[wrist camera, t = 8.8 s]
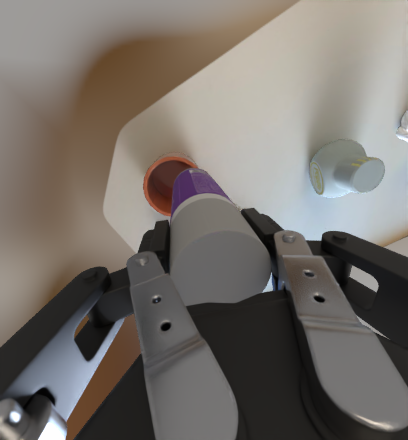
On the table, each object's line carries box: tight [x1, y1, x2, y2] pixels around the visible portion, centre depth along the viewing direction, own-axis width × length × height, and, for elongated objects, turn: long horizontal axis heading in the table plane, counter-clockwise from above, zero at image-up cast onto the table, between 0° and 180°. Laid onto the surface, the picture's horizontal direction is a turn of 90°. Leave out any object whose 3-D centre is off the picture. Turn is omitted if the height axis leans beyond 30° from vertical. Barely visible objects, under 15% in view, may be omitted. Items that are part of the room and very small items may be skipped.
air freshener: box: [309, 139, 385, 198], centre depth 36 cm, size 11×8×10 cm
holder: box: [143, 152, 199, 216], centre depth 34 cm, size 9×9×9 cm
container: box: [169, 168, 272, 306], centre depth 15 cm, size 5×5×15 cm
